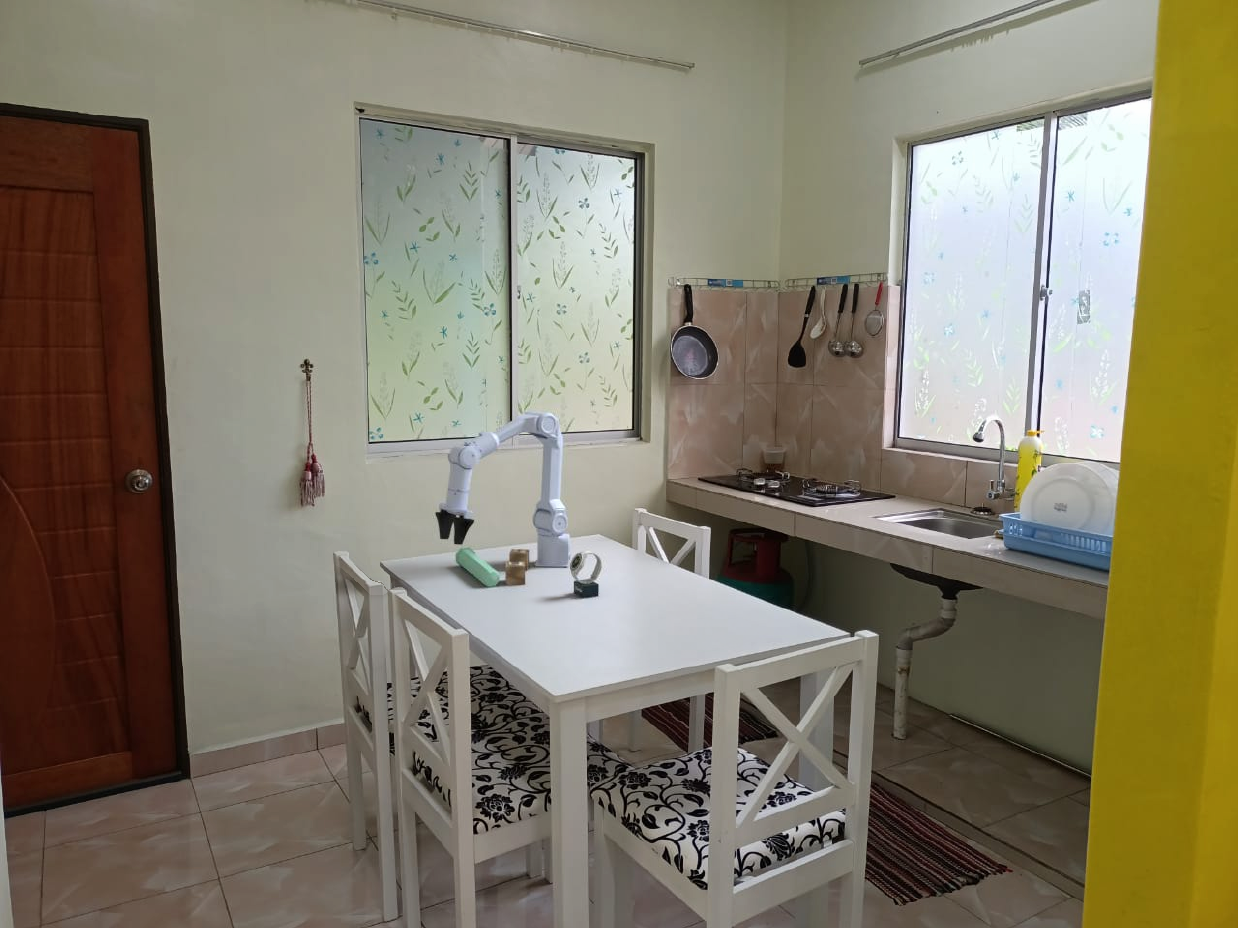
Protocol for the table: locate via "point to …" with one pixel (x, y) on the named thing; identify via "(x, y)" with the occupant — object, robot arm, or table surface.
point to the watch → (586, 586)
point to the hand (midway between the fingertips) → (451, 541)
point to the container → (477, 567)
